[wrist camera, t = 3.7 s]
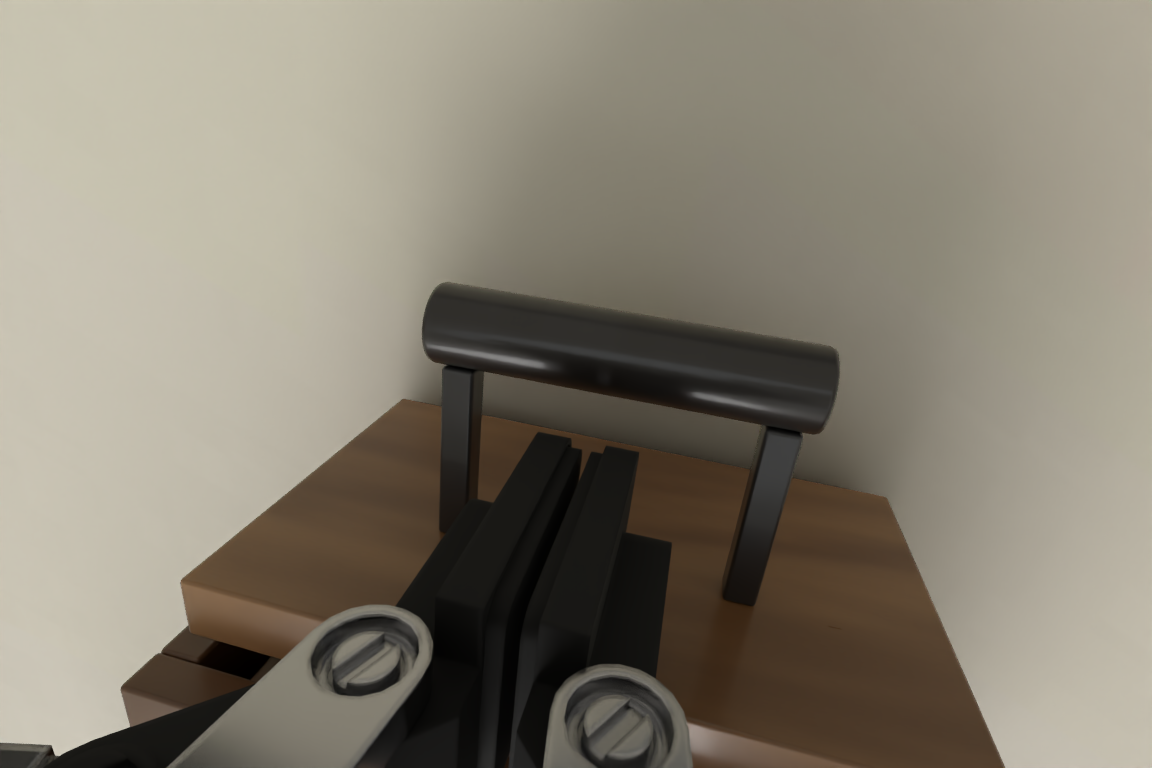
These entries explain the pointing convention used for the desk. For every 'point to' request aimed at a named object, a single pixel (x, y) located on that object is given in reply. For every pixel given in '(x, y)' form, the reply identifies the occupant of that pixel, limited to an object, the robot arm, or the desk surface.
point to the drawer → (658, 510)
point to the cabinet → (189, 676)
